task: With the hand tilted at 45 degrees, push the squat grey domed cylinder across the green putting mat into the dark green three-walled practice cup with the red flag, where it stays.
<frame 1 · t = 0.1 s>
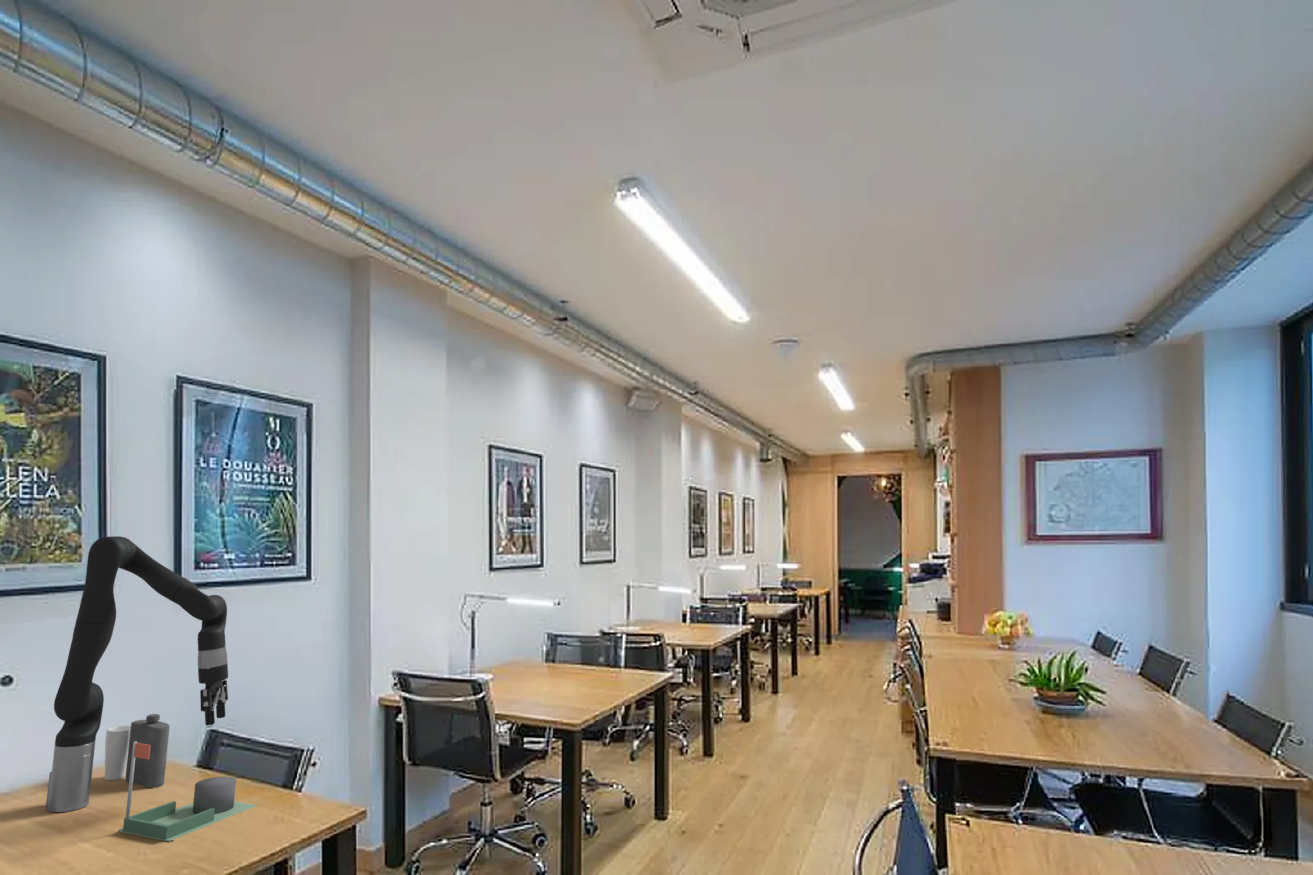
hand: (215, 721, 224), 22 cm above the table, tool pointing down, fingers open, 8 cm apart
grey domed cylinder: (213, 808, 216), resting on practice cup
flask: (145, 783, 237), on the table
drinking glass: (114, 779, 240), on the table
practice cup: (170, 826, 204), on the table
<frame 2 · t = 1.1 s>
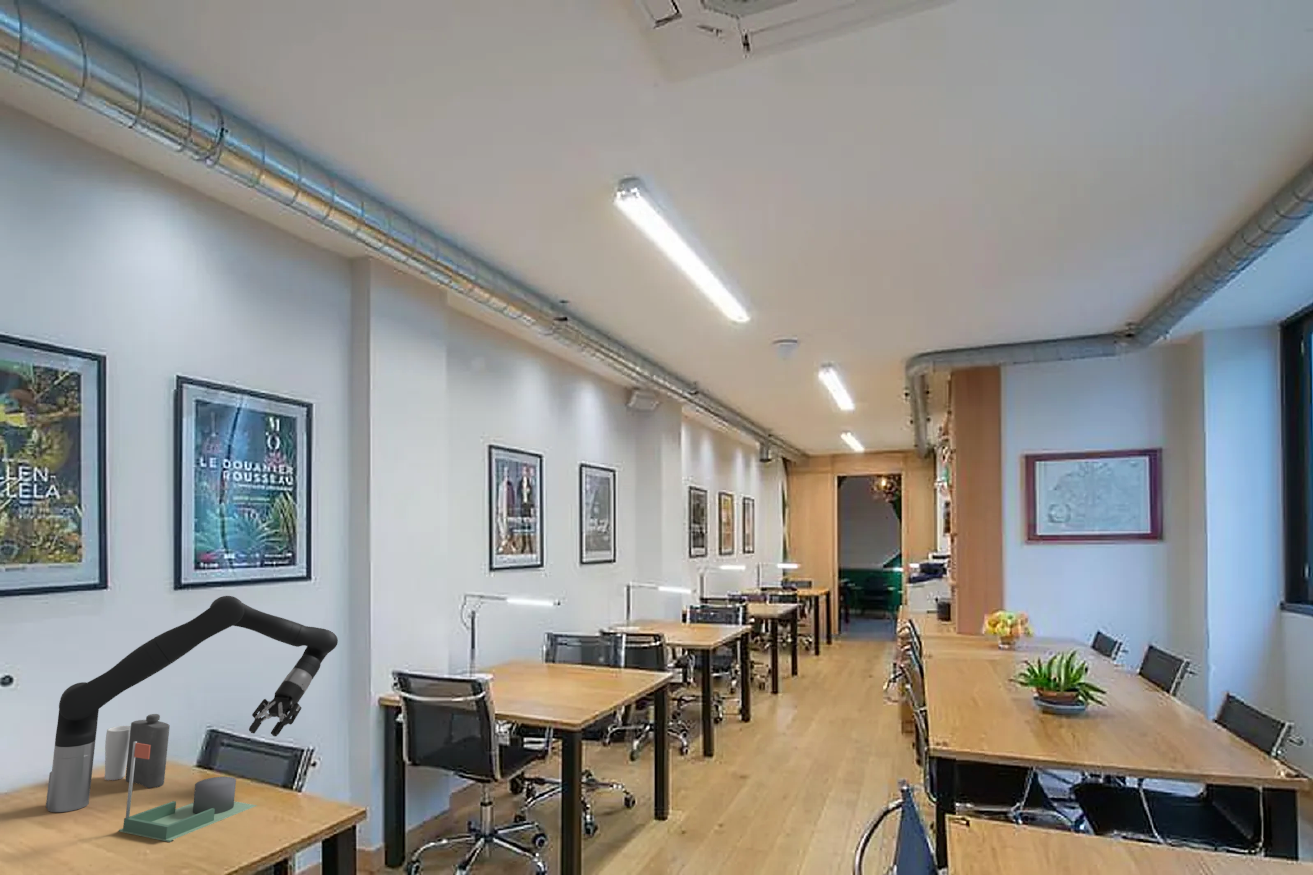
hand: (262, 733, 232), 17 cm above the table, tool tilted 45°, fingers open, 8 cm apart
nothing on the table moved.
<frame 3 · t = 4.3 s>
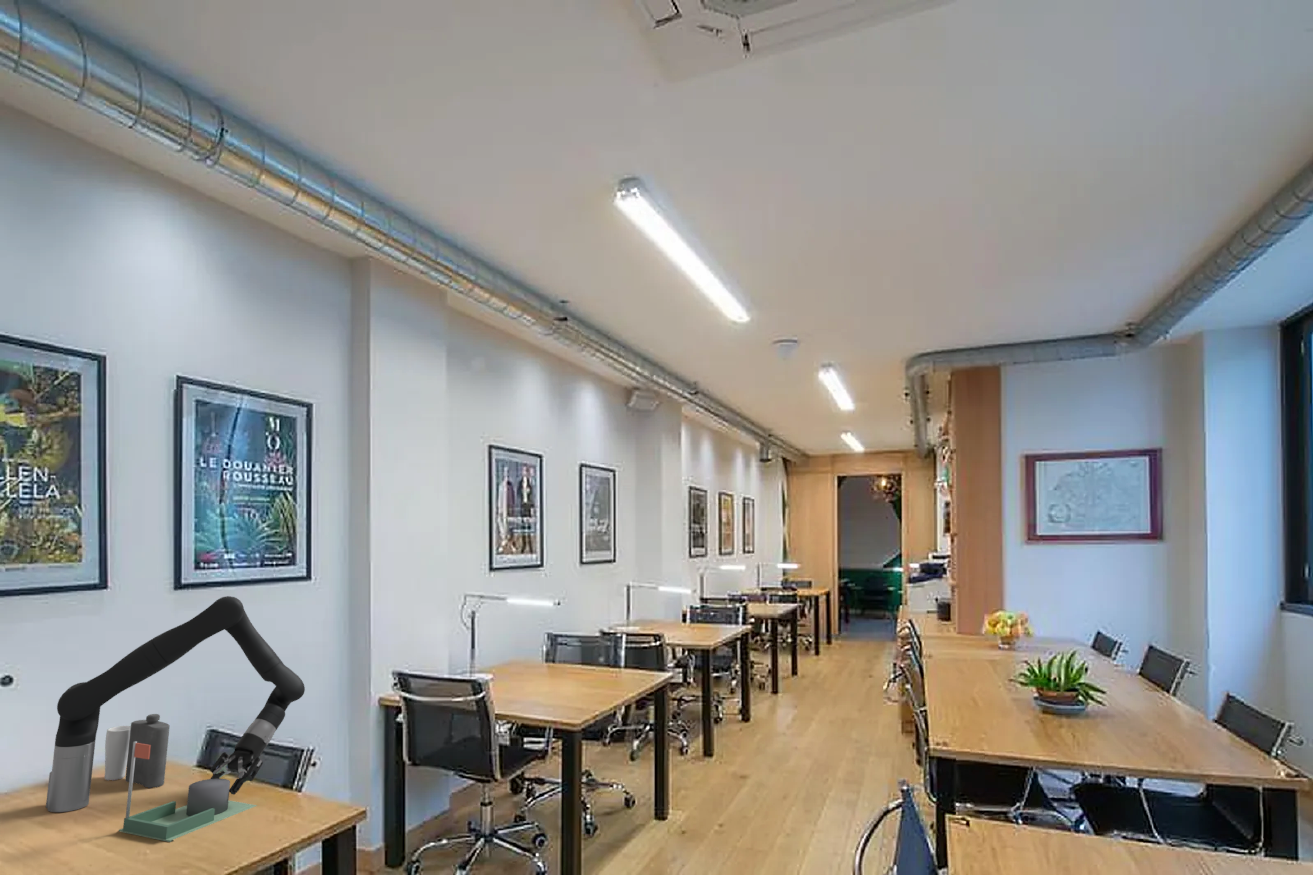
hand: (219, 791, 218), 5 cm above the table, tool tilted 45°, fingers open, 8 cm apart
grey domed cylinder: (207, 810, 214), resting on practice cup, touching gripper
everything else where it was.
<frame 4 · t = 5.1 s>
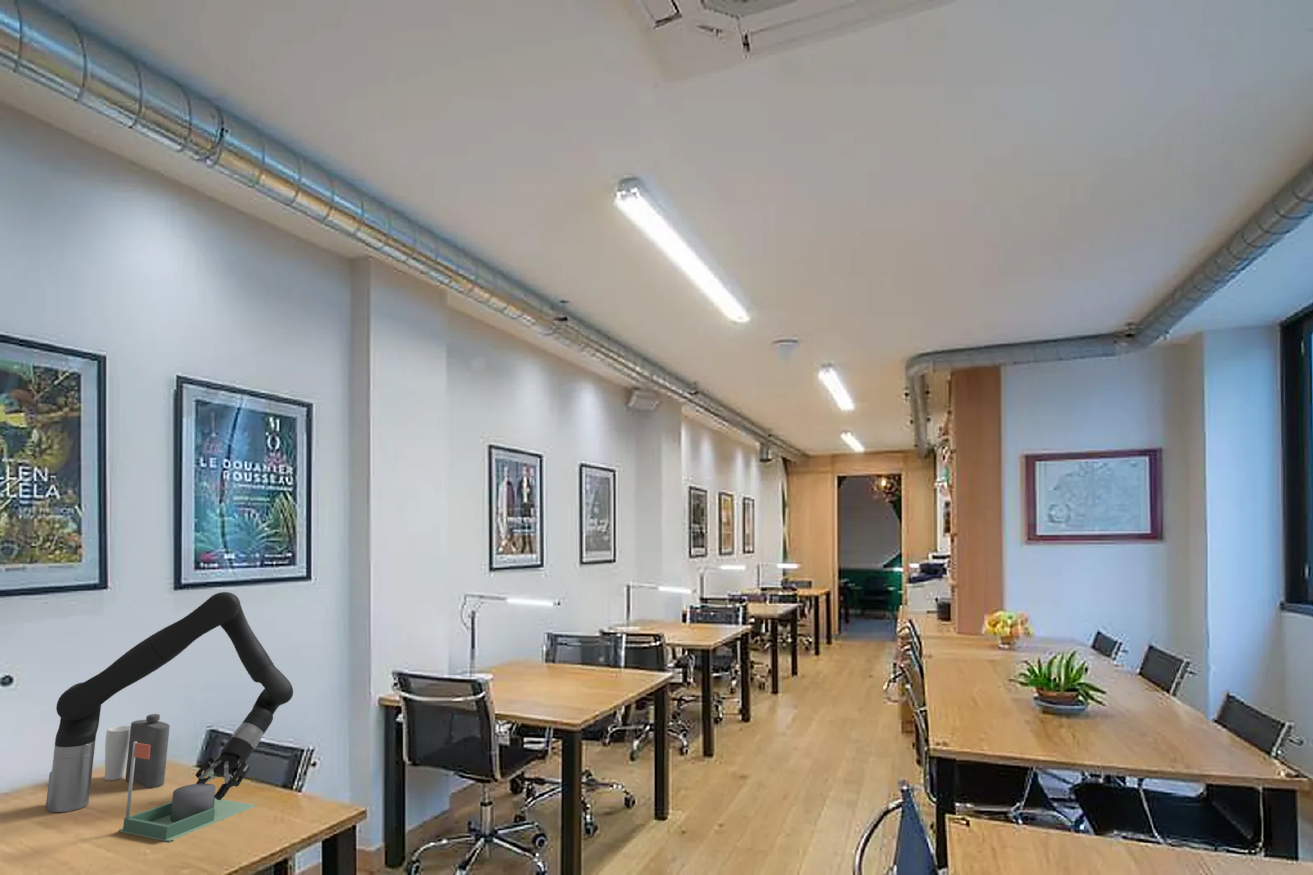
hand: (205, 796, 214), 4 cm above the table, tool tilted 45°
grey domed cylinder: (192, 816, 210), resting on practice cup, touching gripper
everything else where it was.
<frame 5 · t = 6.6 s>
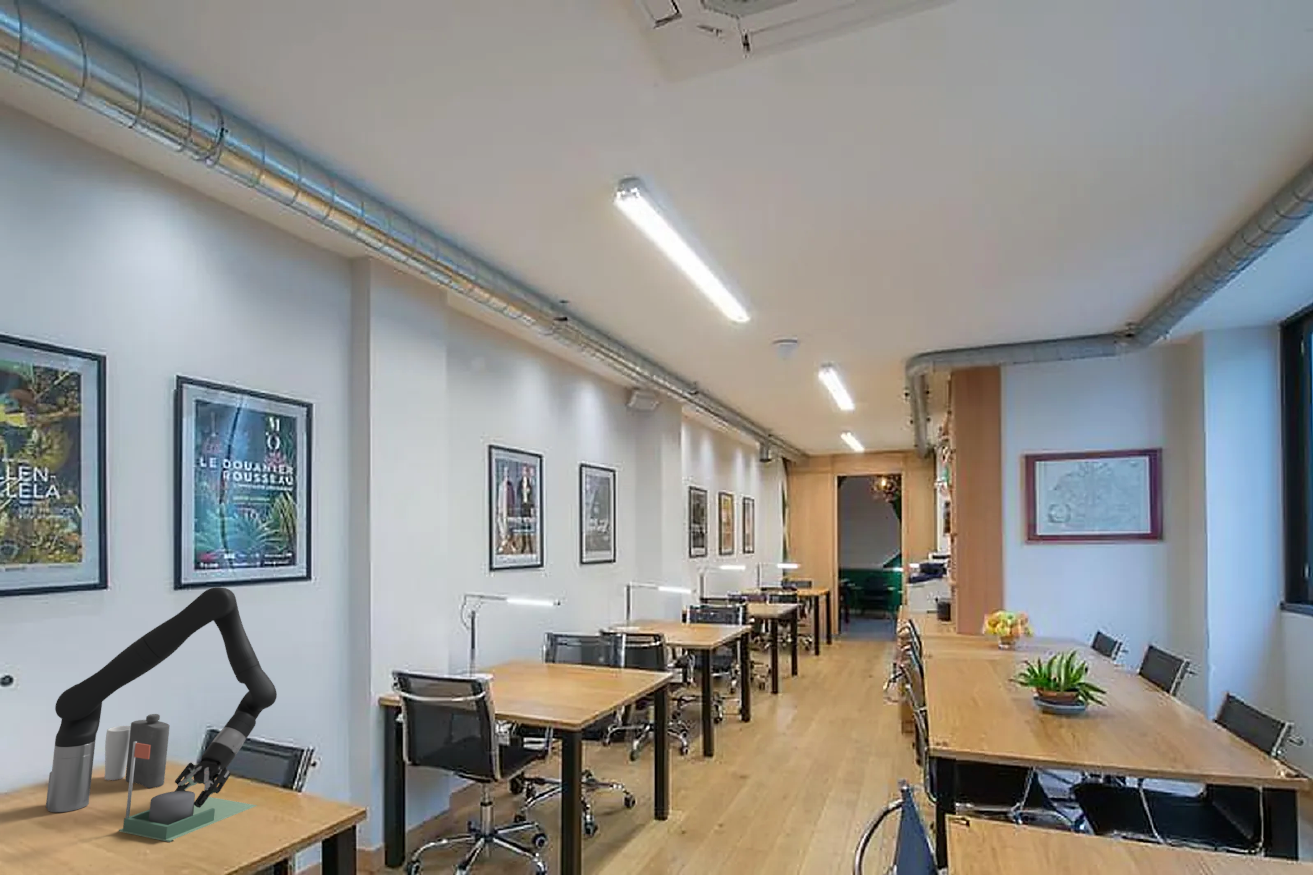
hand: (184, 803, 208), 5 cm above the table, tool tilted 45°
grey domed cylinder: (170, 825, 204), resting on practice cup, touching gripper
everything else where it was.
when the fingers open (5 cm above the table, at t = 7.6 s): grey domed cylinder stays where it is, resting on practice cup.
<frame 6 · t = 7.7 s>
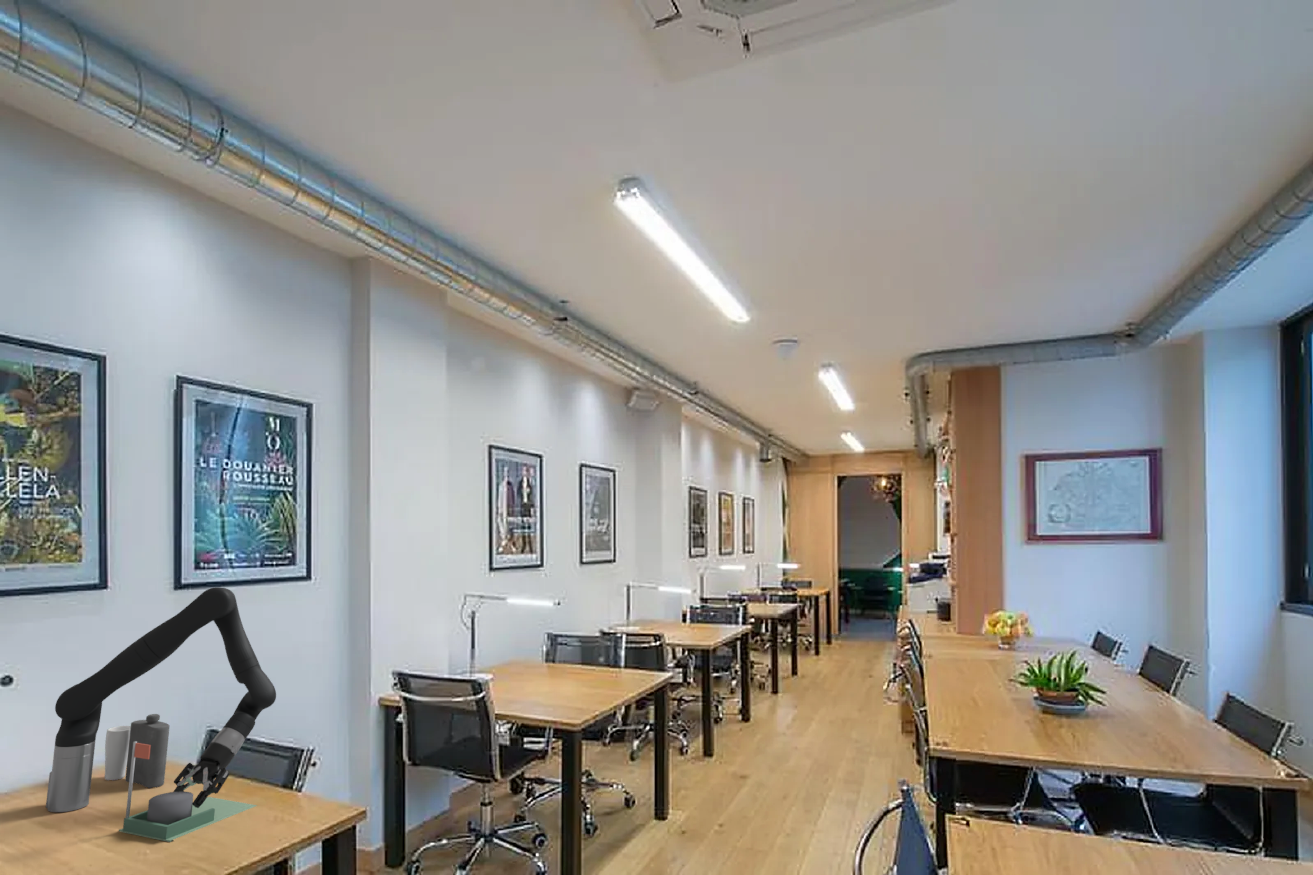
hand: (183, 804, 207), 5 cm above the table, tool tilted 45°, fingers open, 8 cm apart
grey domed cylinder: (168, 825, 203), resting on practice cup
everything else where it was.
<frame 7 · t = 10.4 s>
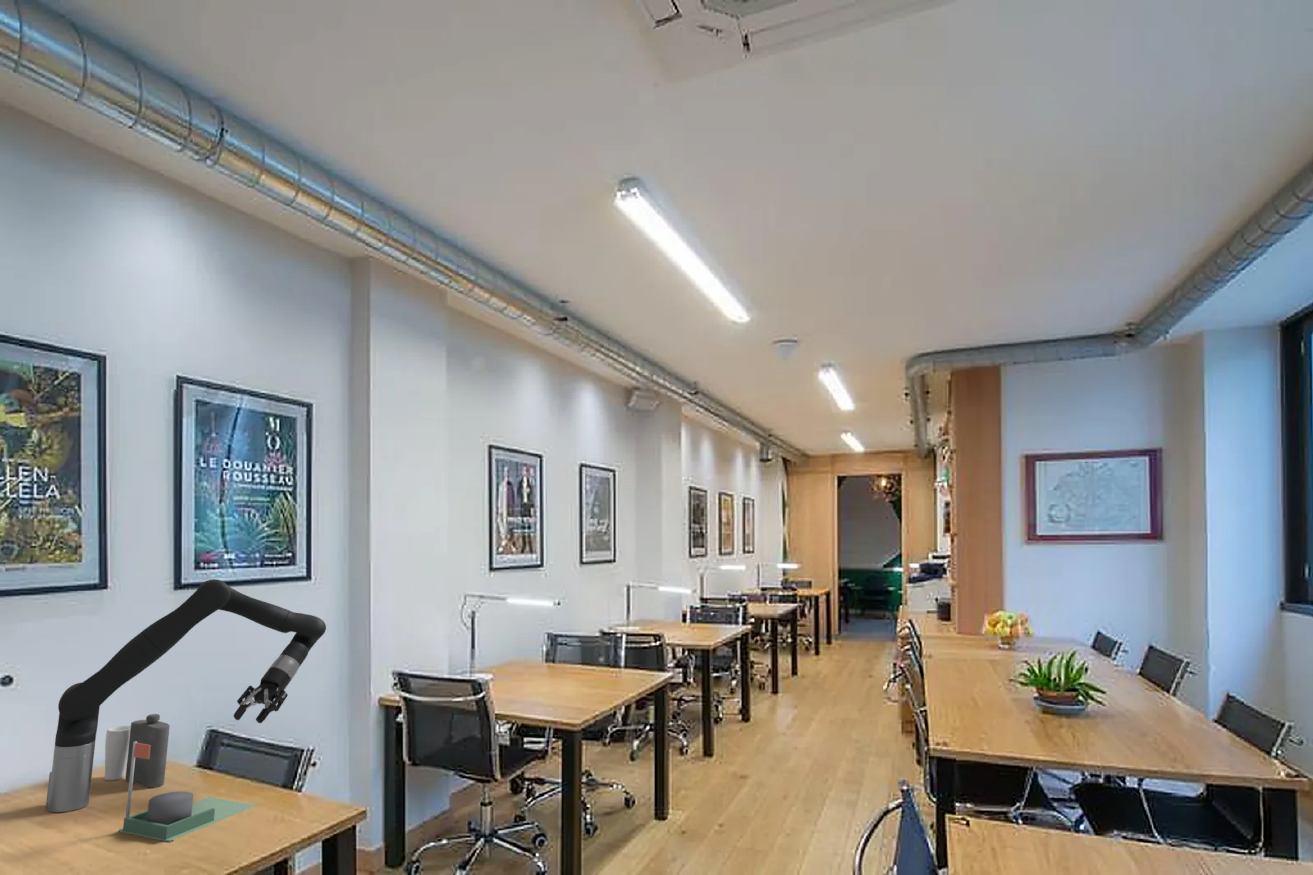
hand: (246, 720, 227), 22 cm above the table, tool tilted 45°, fingers open, 8 cm apart
nothing on the table moved.
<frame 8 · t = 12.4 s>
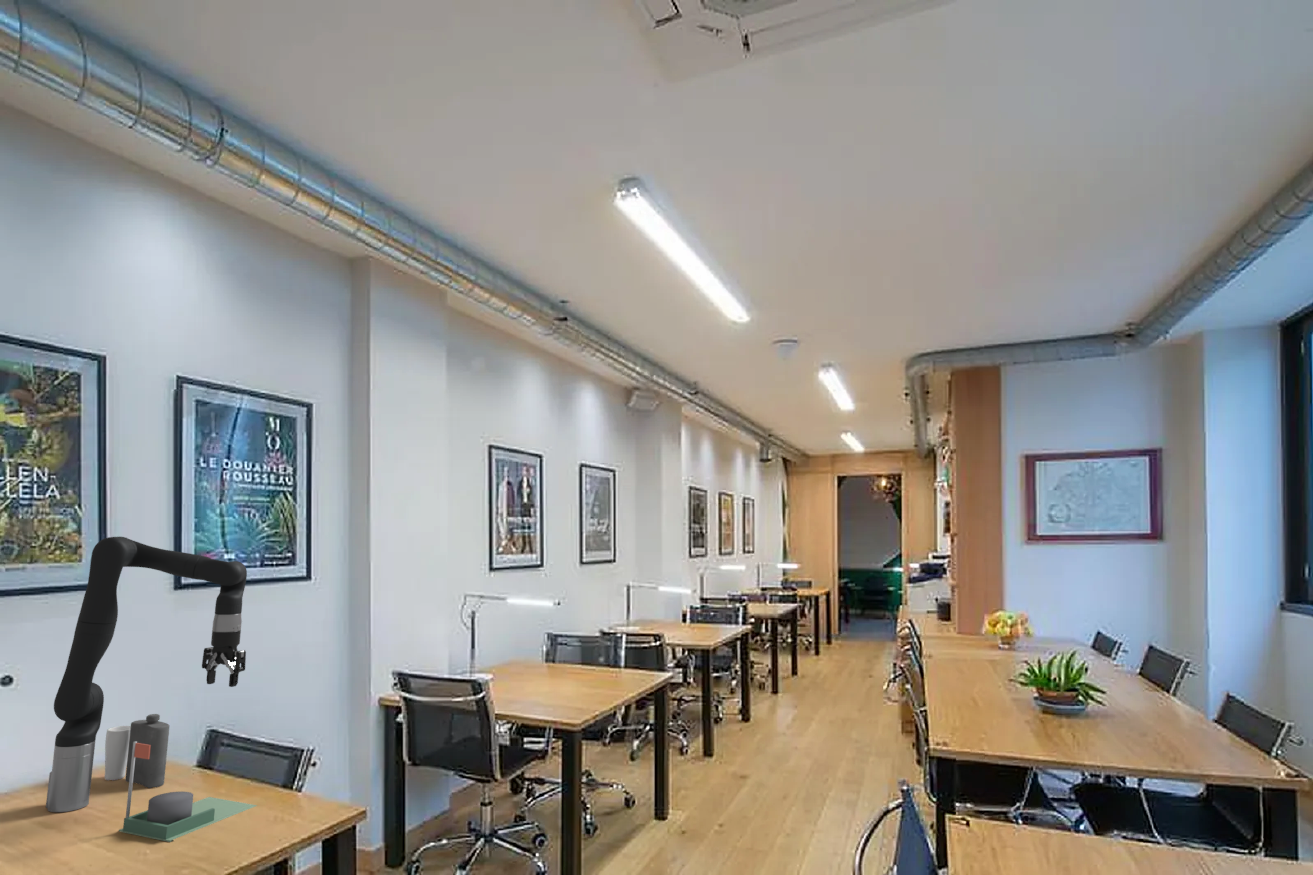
hand: (221, 685, 229), 32 cm above the table, tool pointing down, fingers open, 8 cm apart
nothing on the table moved.
at the end: grey domed cylinder 0.7 cm off-centre on the practice cup, point 0.4 cm above the practice cup's base; grey domed cylinder tilted 0° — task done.
